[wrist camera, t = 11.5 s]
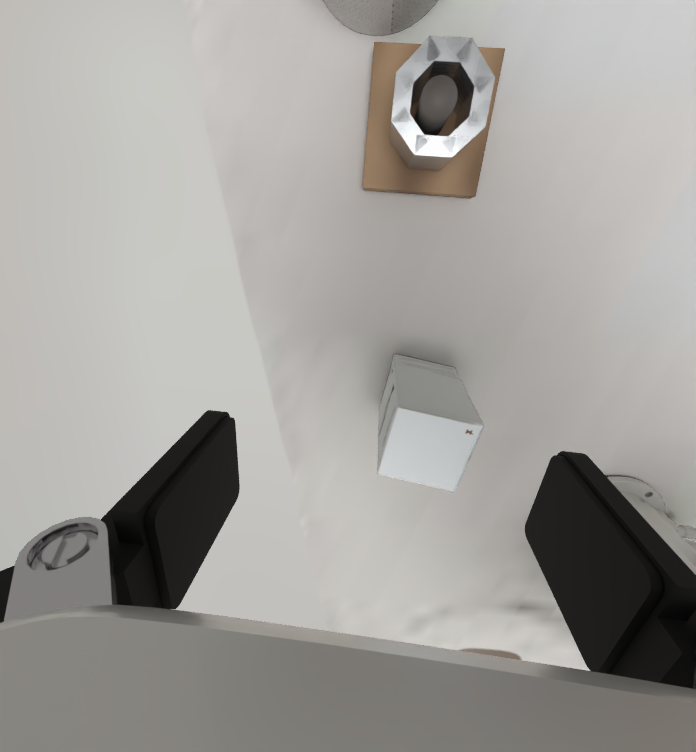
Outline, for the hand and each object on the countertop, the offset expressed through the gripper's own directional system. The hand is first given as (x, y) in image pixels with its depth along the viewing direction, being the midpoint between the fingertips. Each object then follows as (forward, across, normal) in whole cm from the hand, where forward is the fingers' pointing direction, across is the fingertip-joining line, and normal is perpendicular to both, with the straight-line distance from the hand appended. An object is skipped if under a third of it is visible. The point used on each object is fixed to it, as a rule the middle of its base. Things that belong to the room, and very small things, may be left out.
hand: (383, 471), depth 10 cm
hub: (+26, -2, -15) cm, 30 cm away
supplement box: (+28, -5, +10) cm, 31 cm away
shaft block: (+28, -2, -15) cm, 32 cm away
